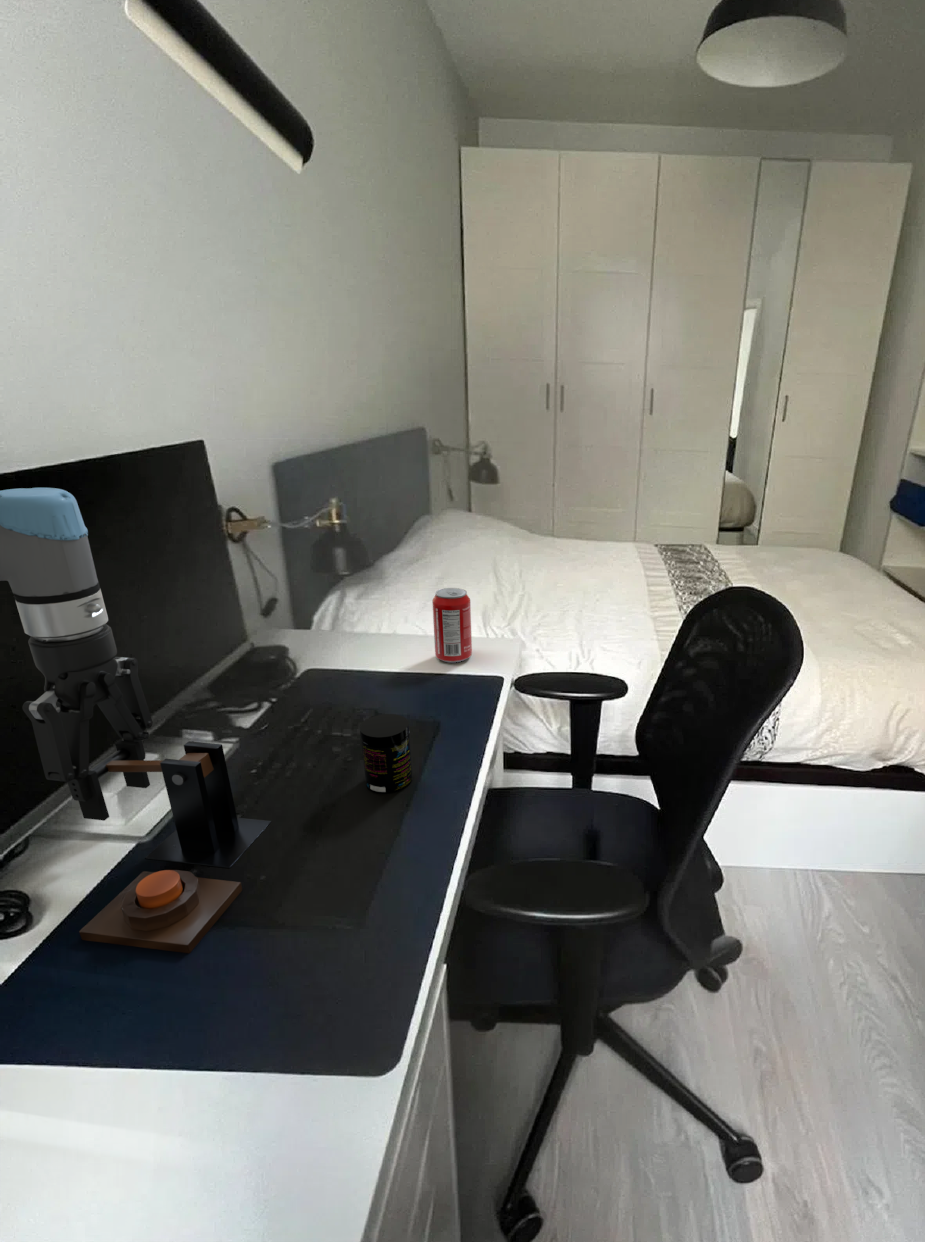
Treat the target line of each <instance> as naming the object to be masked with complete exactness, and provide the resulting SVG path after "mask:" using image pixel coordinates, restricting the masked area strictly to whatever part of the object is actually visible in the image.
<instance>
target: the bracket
mask: <svg viewBox="0 0 925 1242" xmlns="http://www.w3.org/2000/svg"><path fill="white" fill-rule="evenodd" d="M223 746H224V745H223V744H221V743H212V742H202V741H192V740H191V741H190V740H188V741H187V742H185V744H183V749H184V753H185V754H184V755H186V754H187V753H208V754H209V757H210V760H211V763H212V766H213V769H214V770H213V771H212V772H210V773H209V774H208V775H207V776H206V777H205V778H204V775H203V771H202V766H201V762H196V761H186V760H179V759H174V758H165V759H162V760H163V761H162V762H161V763H160V765H161V769H162V772H161V773H162V777H163V781H164V785H165V789H166V792H167V798H168V801H169V805H170V808H171V812H172V818H173V821H174V825H175V830H174V831H173V832H172V833H171V834H169V835H168V836H167V837H166V838H164V840H163V841H161V843H159V844H158V845H157V846H156V847H155V848H154V849H153V850H152V851H151V852H149V854H147V855H146V856H145V857H144V859H145V860H152V861H159V862H169V863H179V864H185V865H187V864H188V865H195V866H203V867H213V868H222V869H231V868H232V867H233V866H234V865H236V863H237V862H238V861H239V860H240V858H241V857H242V856H243V855H244V854H245V853H246V852H247V850H248V849H249V848H250V847H251V846H252V845H253V844H254V842H255V841H256V840H257V839H258V838H259V837H260V836H261V835H262V834H263V833H264V831H265V830H266V829H267V828H268V827H269V826H270V825H271V823H272V820H265V819H256V818H245V817H238V816H237V811H236V806H235V802H234V797H233V791H232V786H231V782H230V776H229V771H228V766H227V762H226V757H225V752H224V747H223Z"/></svg>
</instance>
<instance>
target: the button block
mask: <svg viewBox="0 0 925 1242" xmlns="http://www.w3.org/2000/svg"><path fill="white" fill-rule="evenodd" d="M171 870H172V871H175V872H177V873H178V874H179V876H180V880H181V884H182V888H183V890H182V893H181V895H180V896H179V897H178V898H177V899H176V900H174V901H172V902H171V903H169V904H167V905H165V906H162V907H158V908H154V909H145V908H143V907H141V906H140V904H139V901H138V898H137V894H136V887H137V885H138V883H139V882H140V881H141V880H142V879H144V878H145V877H147V876H149V875H151V874H153V873H155V872H156V871H145V870H144V871H142V872H141V873H140V874H139V875H138V876H136V878H135V879H133V880H132V881H131V882H130V883H129V884H128V885H127V886H126V887H124V889H123V890H122V891H120V892H119V894H117V895H116V896H115V897H114V898H113V899H112V900H111V901H110V902H109V903H107V905H105V907H104V908H102V909H101V910H100V911H99V912H98V913H97V914H96V915H95V916H94V917H93V918H92V919H90V921H88V922H87V923H86V925H84V926H83V927H82V928H81V929H80V930H79V931H78V933H79V936H80V939H81V941H88V942H95V943H102V944H103V943H104V944H113V945H118V946H119V945H120V946H127V947H128V946H129V947H135V948H144V949H150V950H159V951H167V952H168V951H169V952H175V953H184V954H191V953H192V952H193V950H194V949H195V948H196V946H198V944H199V943H200V942H201V941H202V940H203V938H204V937H205V936H206V935H207V934H208V932H209V931H210V930H211V929H212V927H213V926H214V925H215V924H216V923H217V921H219V919H220V918H221V916H222V915H223V914H224V913H225V912H226V911H227V909H228V908H229V907H230V906H231V904H233V902H234V901H235V900H236V898H237V897H238V896H239V895H240V894H241V893H242V891H243V887H242V882H241V881H232V880H225V879H224V880H223V879H217V878H216V879H214V878H207V877H206V878H205V877H198V876H195V874H193V873H192V872H191V871H189V870H179V869H171Z"/></svg>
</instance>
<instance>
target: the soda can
mask: <svg viewBox="0 0 925 1242" xmlns="http://www.w3.org/2000/svg"><path fill="white" fill-rule="evenodd" d="M434 593H435V594H434V597H433V598H432V604H431V605H432V621H433V623H432V624H433V638H434V642H433V643H434V654H435V658H437V659H438V660H440V661H442V662H444V663H448V664H456V662H457V663H461V661H462V662H464V661H466V660H468V659H469V658H471V656H472V654H473V643H472V642H473V639H472V610H471V609H472V607H471V598H470V597H469V595H468V594H467V593H468V592H467V590H465V589H463V588H459V587H445V588H444V587H443V588H440V589H438V590H436V591H435V592H434Z"/></svg>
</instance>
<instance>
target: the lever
mask: <svg viewBox="0 0 925 1242" xmlns="http://www.w3.org/2000/svg"><path fill="white" fill-rule="evenodd" d="M129 757H130V753H129V751H128V750H126V749H124V748H121V749H119V750H118V751H117V750H116V751H114V752H113V753H112V754H110V755H109V756H107V757H105V758H104V759H103V760H101V761H99V762H98V763H97V764H95V765H94V766H91V768H89V771H96V773H97V776H98V780H100V779H102V778H103V777H104V776H106V775H107V774H109V773H123V772H147V773H162V769H161V765H160V763H161V762H162V761H163V760H164V759H162V760H161V759H160V760H156V759H155V760H154V759H153V760H150V759H149V760H147V759H146V760H145V759H144V760H127V759H128V758H129ZM178 760H186V761H196V762H201V766H202V771H203V775H204V778H205V777H206V776H207V775H208V774H209V773H210V772H212V771H213V770H214V769H213V766H212V763H211V760H210V757H209V754H208V753H187V754H184V755H183V756H181V757H180V758H179V759H178Z"/></svg>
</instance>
